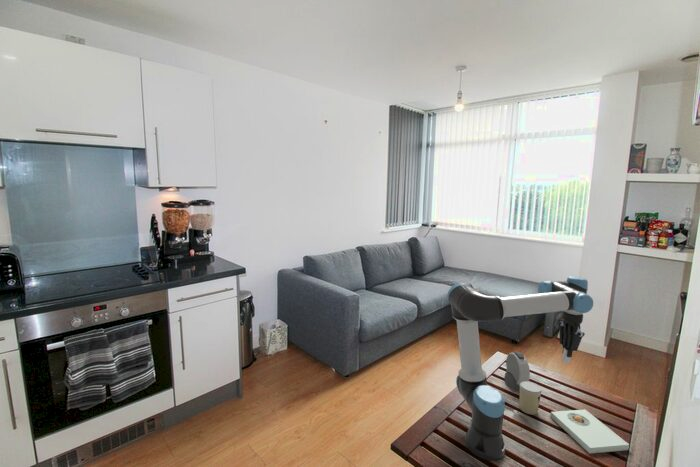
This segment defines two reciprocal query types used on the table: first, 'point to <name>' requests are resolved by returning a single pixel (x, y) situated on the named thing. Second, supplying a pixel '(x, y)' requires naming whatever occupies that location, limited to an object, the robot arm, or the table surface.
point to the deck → (589, 431)
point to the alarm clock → (516, 370)
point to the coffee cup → (529, 397)
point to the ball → (577, 419)
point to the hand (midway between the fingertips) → (565, 362)
